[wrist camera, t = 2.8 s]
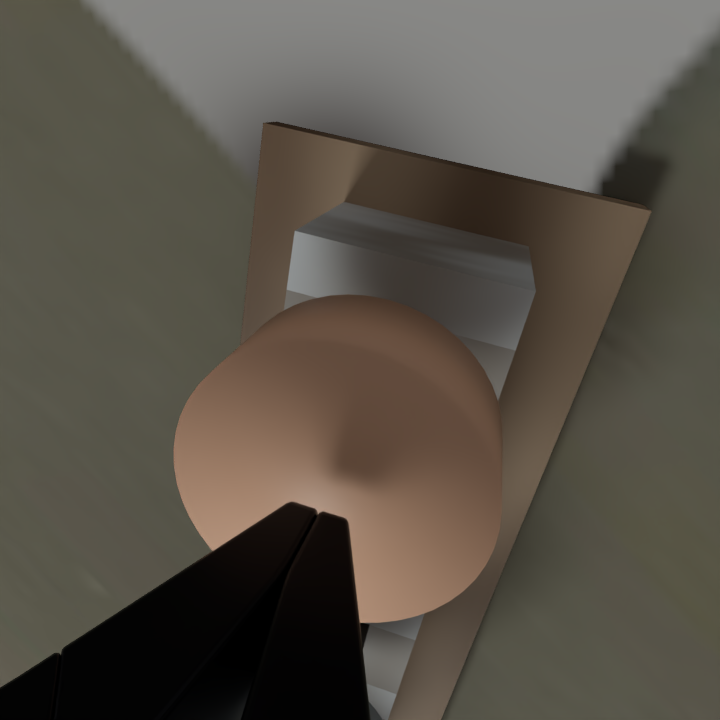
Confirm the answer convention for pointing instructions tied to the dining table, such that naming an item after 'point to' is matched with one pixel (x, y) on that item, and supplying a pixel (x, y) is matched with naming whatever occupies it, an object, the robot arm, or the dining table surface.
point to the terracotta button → (354, 445)
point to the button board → (446, 321)
